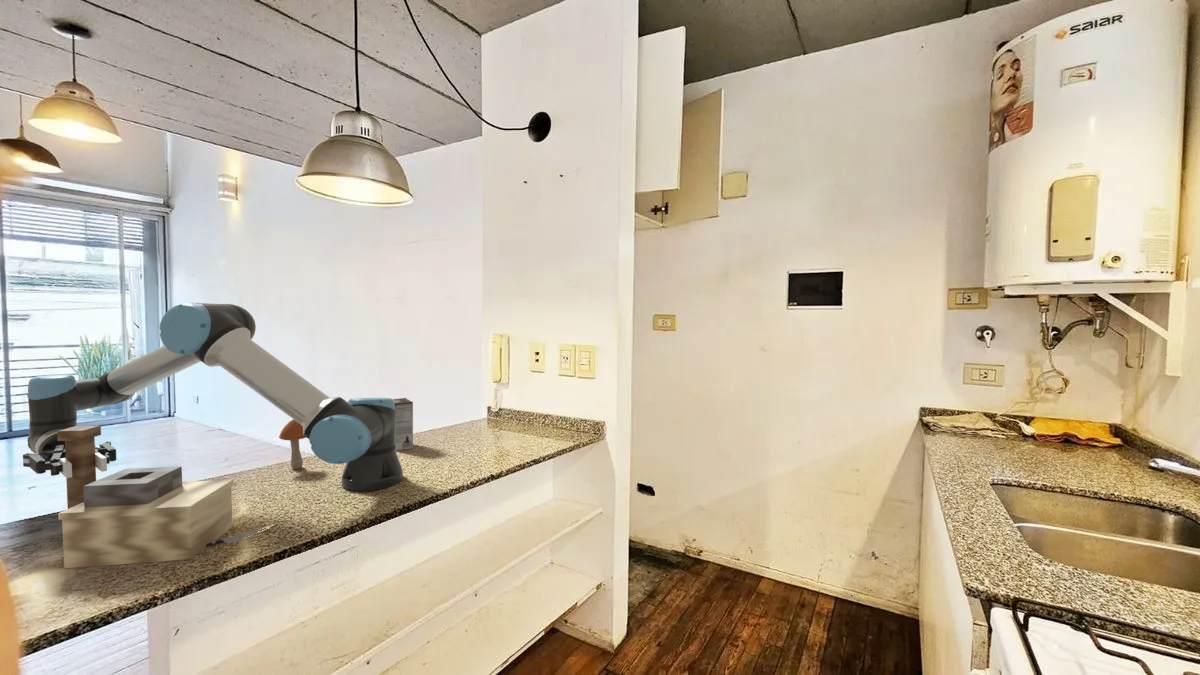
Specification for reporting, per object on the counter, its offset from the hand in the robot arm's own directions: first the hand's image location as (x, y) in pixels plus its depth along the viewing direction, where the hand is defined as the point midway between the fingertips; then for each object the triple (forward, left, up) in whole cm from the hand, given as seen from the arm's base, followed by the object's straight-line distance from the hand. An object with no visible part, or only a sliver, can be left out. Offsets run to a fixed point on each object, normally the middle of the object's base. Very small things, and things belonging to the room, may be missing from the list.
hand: (87, 467), depth 98 cm
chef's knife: (-29, +4, -15) cm, 33 cm away
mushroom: (-22, -42, -15) cm, 49 cm away
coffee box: (-47, -62, -15) cm, 79 cm away
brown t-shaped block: (+4, -4, -10) cm, 11 cm away
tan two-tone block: (-15, +5, -15) cm, 22 cm away
